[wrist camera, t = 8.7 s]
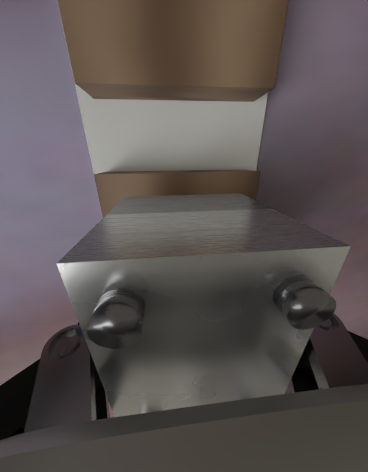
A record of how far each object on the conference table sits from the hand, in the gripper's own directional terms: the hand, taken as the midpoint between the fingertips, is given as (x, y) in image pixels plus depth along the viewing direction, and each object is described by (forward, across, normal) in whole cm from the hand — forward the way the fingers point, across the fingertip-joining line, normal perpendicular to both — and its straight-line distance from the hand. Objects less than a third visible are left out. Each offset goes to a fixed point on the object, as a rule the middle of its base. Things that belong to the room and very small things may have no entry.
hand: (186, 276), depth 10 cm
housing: (+1, 0, 0) cm, 1 cm away
